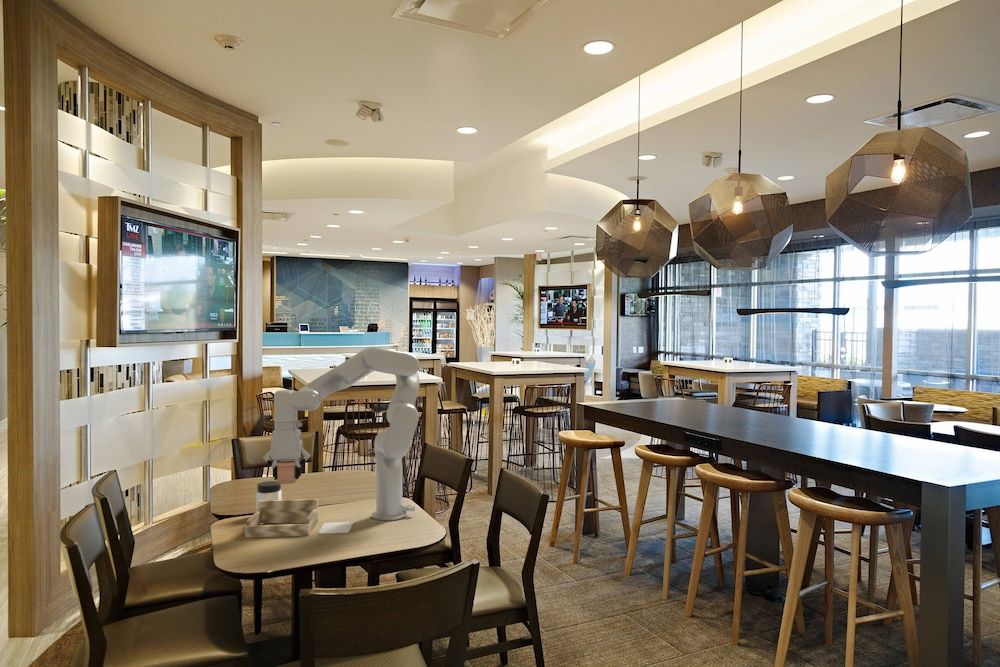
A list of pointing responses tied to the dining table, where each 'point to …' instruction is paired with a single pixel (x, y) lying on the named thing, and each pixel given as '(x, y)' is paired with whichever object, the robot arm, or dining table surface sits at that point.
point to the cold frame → (283, 518)
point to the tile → (336, 528)
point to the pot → (286, 471)
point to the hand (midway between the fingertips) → (287, 478)
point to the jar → (268, 491)
